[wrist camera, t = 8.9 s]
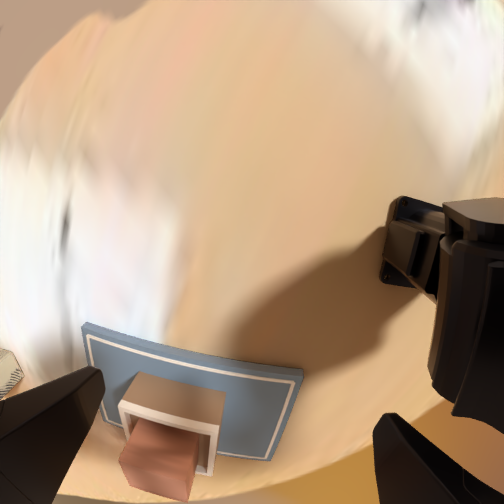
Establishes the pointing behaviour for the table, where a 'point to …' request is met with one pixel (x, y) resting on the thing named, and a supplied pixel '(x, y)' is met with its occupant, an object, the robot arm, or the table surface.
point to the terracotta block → (161, 459)
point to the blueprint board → (241, 391)
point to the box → (8, 372)
